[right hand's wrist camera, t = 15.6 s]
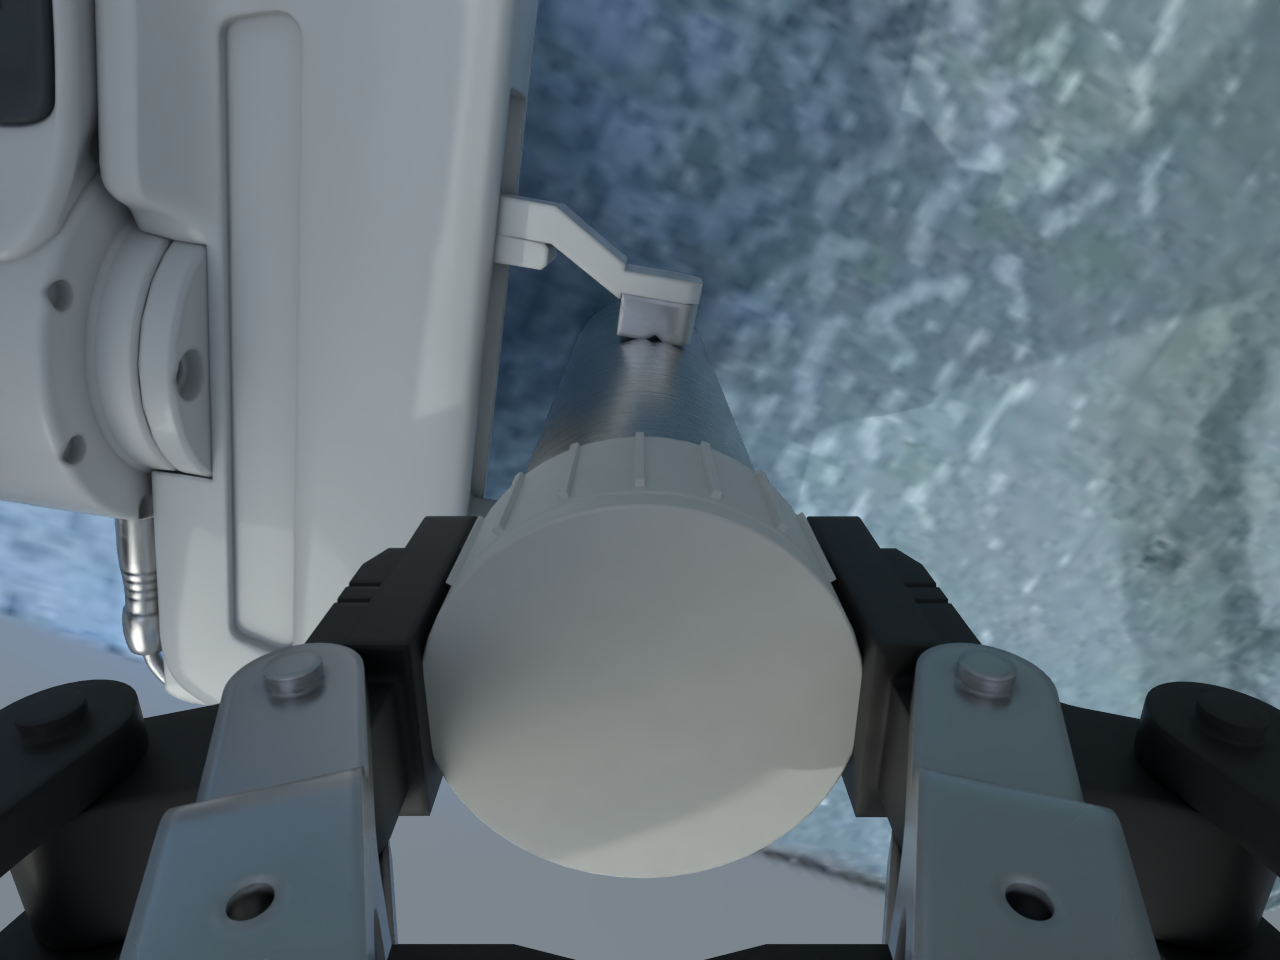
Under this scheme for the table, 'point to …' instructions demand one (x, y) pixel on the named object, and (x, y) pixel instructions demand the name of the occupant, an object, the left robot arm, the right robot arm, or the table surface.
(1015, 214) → the table surface
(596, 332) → the jar
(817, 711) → the lid
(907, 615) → the right robot arm
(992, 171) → the table surface
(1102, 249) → the table surface
